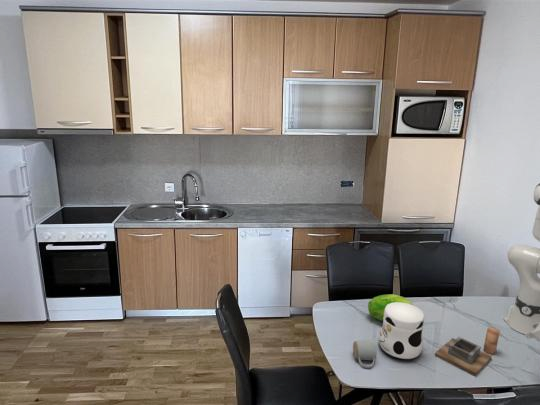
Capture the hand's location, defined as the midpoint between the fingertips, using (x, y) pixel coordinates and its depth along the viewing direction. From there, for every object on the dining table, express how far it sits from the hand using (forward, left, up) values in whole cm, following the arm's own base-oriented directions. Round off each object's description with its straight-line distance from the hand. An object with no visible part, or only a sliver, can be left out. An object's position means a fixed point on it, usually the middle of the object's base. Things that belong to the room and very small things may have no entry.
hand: (530, 331), depth 151 cm
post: (0, -12, -16) cm, 20 cm away
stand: (+13, -18, -16) cm, 27 cm away
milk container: (+29, -37, -16) cm, 50 cm away
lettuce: (+11, -53, -16) cm, 57 cm away
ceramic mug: (+46, -42, -16) cm, 64 cm away
